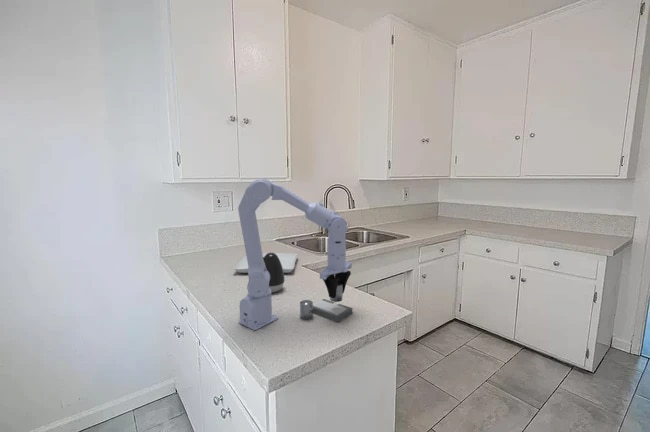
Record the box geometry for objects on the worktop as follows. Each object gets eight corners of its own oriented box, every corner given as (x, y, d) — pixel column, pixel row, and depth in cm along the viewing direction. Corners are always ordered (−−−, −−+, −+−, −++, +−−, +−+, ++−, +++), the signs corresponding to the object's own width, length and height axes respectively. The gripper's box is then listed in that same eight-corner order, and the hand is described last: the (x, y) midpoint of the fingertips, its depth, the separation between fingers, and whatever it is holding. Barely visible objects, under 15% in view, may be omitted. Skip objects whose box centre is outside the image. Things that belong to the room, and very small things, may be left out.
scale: (338, 322, 96) (338, 315, 96) (309, 311, 104) (308, 305, 103) (352, 313, 103) (352, 306, 102) (323, 303, 110) (323, 297, 110)
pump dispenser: (256, 287, 125) (254, 250, 123) (281, 284, 129) (280, 248, 127) (260, 297, 116) (258, 257, 114) (287, 293, 120) (286, 254, 117)
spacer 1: (307, 321, 97) (306, 306, 96) (297, 317, 100) (297, 302, 99) (315, 316, 100) (315, 302, 99) (306, 313, 103) (305, 298, 102)
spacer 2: (337, 302, 97) (337, 287, 96) (327, 299, 100) (327, 284, 99) (344, 298, 100) (345, 284, 100) (335, 295, 103) (335, 281, 102)
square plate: (293, 276, 140) (293, 268, 139) (232, 276, 140) (232, 268, 139) (298, 259, 167) (298, 252, 166) (247, 259, 166) (247, 252, 166)
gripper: (332, 261, 90) (332, 305, 92) (359, 251, 101) (359, 291, 103) (314, 257, 94) (314, 299, 96) (341, 247, 105) (341, 286, 107)
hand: (336, 294), depth 100 cm, fingers closed on spacer 2, 4 cm apart
